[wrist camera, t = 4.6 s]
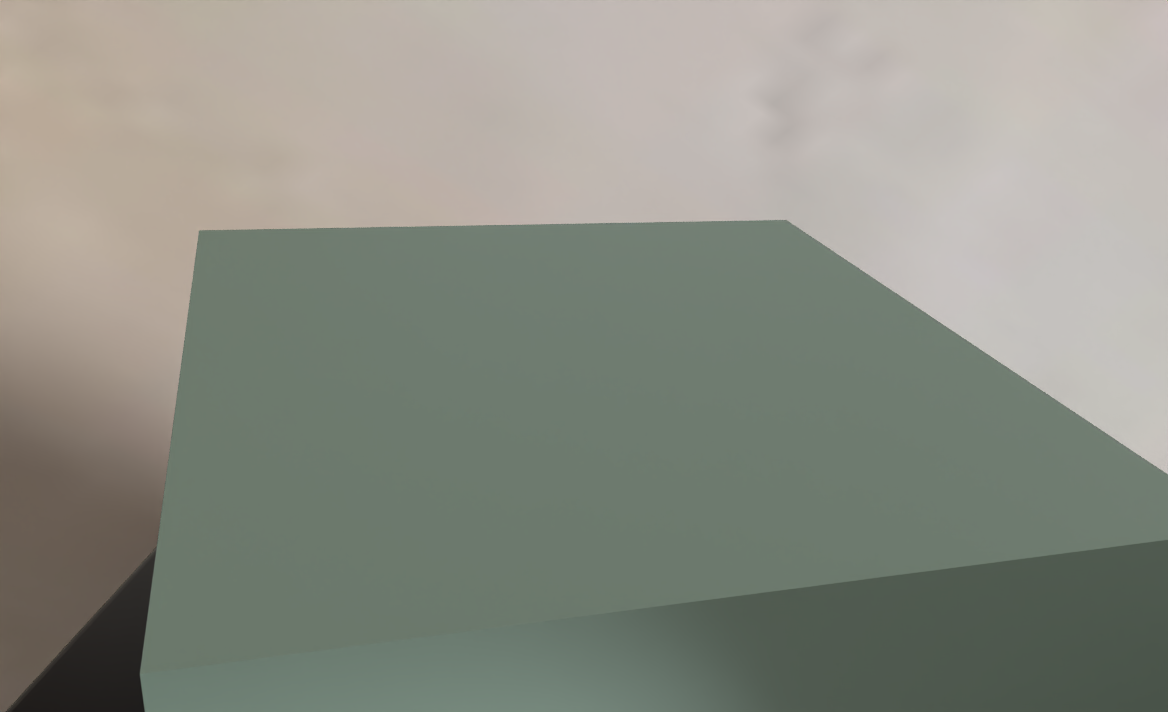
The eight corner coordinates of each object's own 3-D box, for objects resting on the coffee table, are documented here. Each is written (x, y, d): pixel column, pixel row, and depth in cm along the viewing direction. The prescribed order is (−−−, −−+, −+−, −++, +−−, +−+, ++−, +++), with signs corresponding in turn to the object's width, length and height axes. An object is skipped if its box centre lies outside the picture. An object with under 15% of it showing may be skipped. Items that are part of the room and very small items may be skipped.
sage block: (717, 656, 11) (1004, 1142, 7) (241, 726, 10) (235, 1387, 6) (786, 220, 9) (1249, 528, 5) (199, 230, 8) (139, 674, 4)
